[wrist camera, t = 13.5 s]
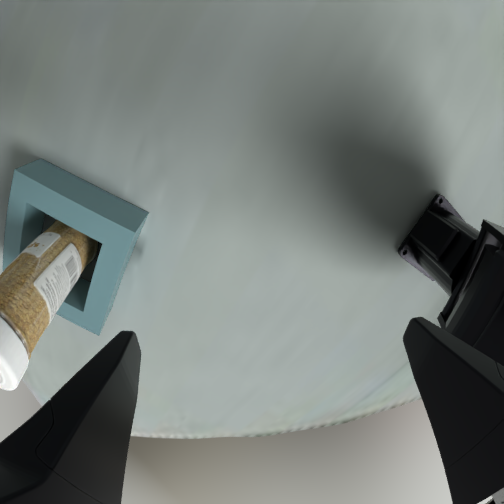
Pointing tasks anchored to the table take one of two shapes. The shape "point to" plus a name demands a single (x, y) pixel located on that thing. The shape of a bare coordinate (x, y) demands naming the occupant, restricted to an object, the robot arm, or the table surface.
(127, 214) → the holder
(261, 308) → the table surface
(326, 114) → the table surface
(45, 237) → the sprinkles bottle
